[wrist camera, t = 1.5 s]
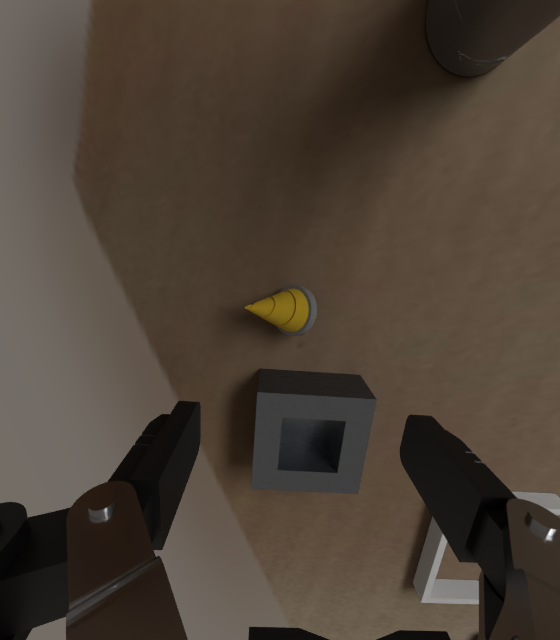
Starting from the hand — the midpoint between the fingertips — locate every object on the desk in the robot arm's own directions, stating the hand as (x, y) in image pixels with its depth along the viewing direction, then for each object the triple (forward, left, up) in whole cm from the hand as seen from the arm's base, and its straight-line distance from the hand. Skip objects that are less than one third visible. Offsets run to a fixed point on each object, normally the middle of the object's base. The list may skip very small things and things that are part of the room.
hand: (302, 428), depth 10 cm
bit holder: (+14, +4, -21) cm, 26 cm away
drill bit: (0, 0, -22) cm, 22 cm away
